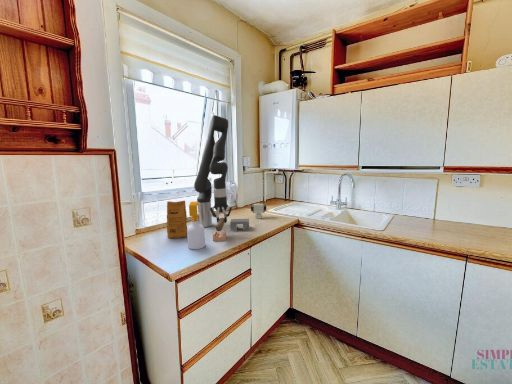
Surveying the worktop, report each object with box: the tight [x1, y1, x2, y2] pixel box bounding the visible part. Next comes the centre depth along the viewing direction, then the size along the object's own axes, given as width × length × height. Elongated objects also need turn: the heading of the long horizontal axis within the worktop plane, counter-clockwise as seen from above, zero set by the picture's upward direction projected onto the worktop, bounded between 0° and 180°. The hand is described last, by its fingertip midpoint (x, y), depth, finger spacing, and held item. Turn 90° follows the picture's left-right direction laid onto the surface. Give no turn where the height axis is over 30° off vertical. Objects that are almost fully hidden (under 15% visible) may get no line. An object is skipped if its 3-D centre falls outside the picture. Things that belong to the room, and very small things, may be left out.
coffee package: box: [166, 200, 188, 239], centre depth 142 cm, size 10×12×22 cm
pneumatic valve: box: [250, 202, 267, 220], centre depth 179 cm, size 6×12×12 cm, turn 91°
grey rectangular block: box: [229, 218, 250, 232], centre depth 154 cm, size 7×12×6 cm, turn 91°
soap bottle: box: [186, 201, 206, 250], centre depth 124 cm, size 9×9×25 cm
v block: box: [212, 229, 227, 242], centre depth 137 cm, size 7×7×4 cm
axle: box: [215, 217, 225, 232], centre depth 136 cm, size 16×4×4 cm, turn 2°
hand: (221, 223), depth 143 cm, fingers closed on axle, 3 cm apart
